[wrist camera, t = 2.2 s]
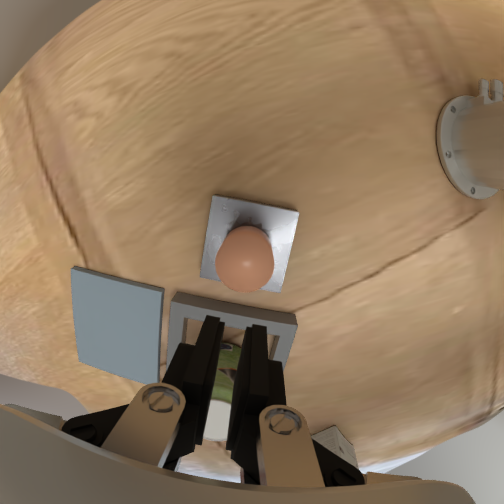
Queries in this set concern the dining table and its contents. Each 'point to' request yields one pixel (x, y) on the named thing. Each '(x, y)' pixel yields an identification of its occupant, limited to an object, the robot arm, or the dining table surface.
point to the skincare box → (337, 444)
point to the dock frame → (230, 322)
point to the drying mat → (117, 324)
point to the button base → (256, 215)
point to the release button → (245, 259)
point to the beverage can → (222, 393)
